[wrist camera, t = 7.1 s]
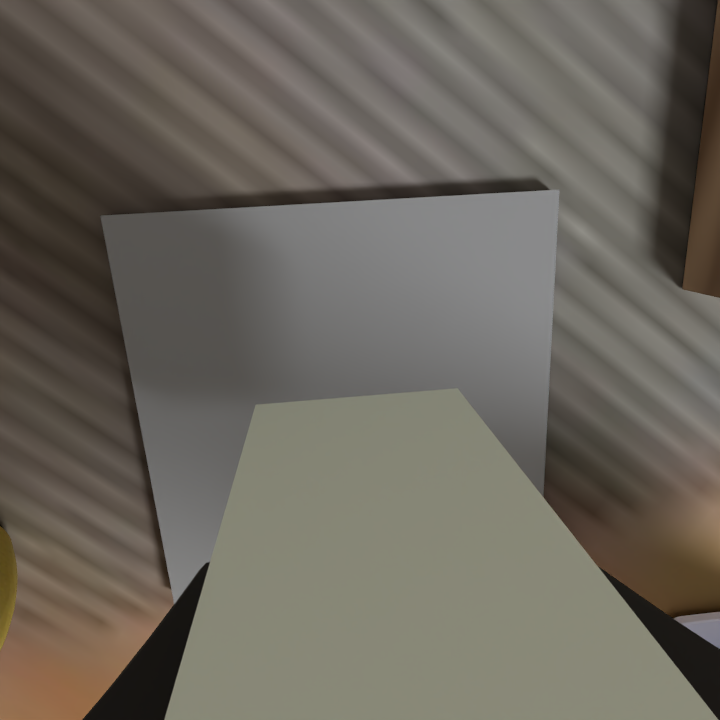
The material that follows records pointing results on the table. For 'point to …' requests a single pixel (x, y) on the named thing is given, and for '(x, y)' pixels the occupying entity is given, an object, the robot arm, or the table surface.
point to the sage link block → (407, 582)
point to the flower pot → (6, 583)
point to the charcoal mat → (326, 327)
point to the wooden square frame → (707, 190)
